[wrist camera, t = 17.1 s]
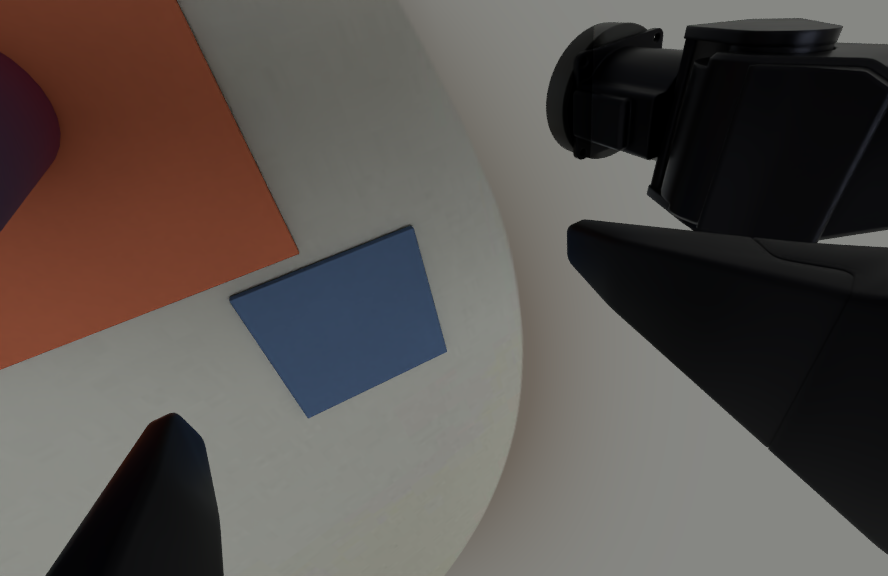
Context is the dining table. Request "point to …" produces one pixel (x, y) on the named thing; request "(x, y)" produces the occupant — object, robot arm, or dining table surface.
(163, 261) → the terracotta mat
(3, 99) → the cup
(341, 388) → the blue mat
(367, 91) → the dining table surface
